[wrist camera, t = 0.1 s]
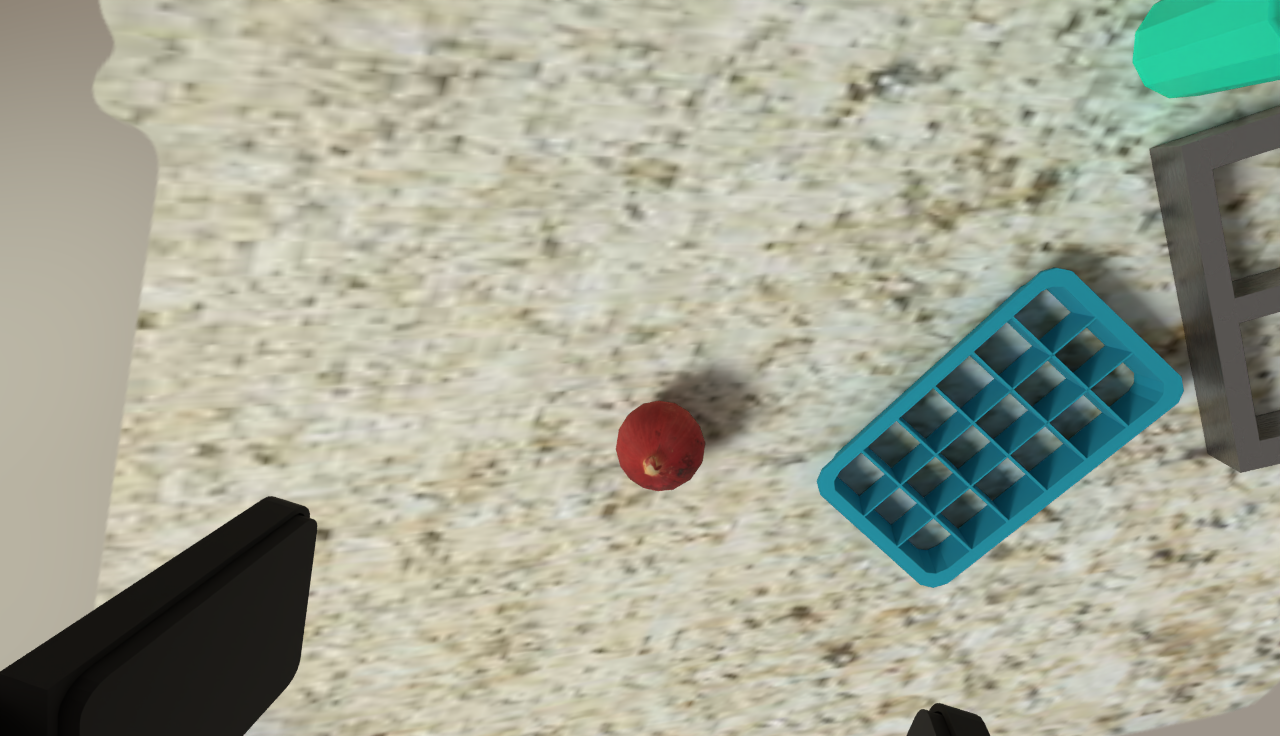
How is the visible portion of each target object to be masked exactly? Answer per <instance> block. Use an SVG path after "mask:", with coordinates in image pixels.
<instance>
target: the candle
mask: <svg viewBox="0 0 1280 736" xmlns="http://www.w3.org/2000/svg"><path fill="white" fill-rule="evenodd" d="M1133 64H1134V66H1135V68H1136V70H1137V72H1138V74H1139V76H1140V78H1141V80H1142V82H1143V84H1144V85H1145V86H1146V87H1148V88H1150V89H1152V90H1154V91H1156V92H1158V93H1160V94H1162V95H1164V96H1166V97H1168V98H1178V97H1189V96H1200V95H1205V94H1210V93H1215V92H1220V91H1225V90H1230V89H1235V88H1240V87H1245V86H1251V85H1256V84H1261V83H1266V82H1271V81H1276V80H1280V0H1161V1H1159V2H1158V3H1156V4H1154V5H1153V6H1152V8H1151V10H1150V11H1149V13H1148V14H1147V16H1146V17H1145V19H1144V20H1143V22H1142V24H1141V25H1140V27H1139V28H1138V30H1137V31H1136V33H1135V43H1134V53H1133Z"/></svg>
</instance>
